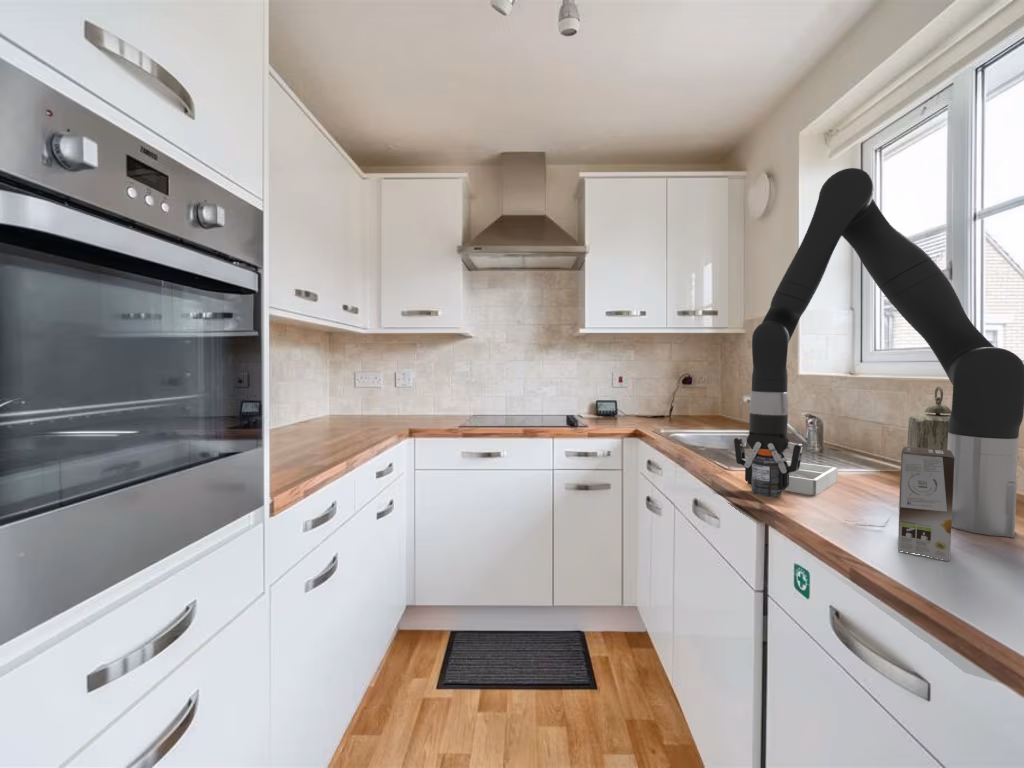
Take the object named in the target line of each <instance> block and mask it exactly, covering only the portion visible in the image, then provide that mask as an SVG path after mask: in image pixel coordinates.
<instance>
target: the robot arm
mask: <svg viewBox="0 0 1024 768" xmlns="http://www.w3.org/2000/svg"><path fill="white" fill-rule="evenodd" d="M874 189H875V187H874V182H873V179H872V177H871V175H870V174H869V173H868V172H867V171H865V170H864V169H861V168H856V167H851V168H849V167H848V168H844V169H841V170H839V171H837V172H834V174H832V175H831V176H830V177H828V178H827V179H826V181H825V182H824V183H823V185H822V186H821V188H820V191H819V192H818V199H817V202H816V204H815V205H816V206H815V208H814V212H813V215H812V218H811V220H810V223H809V225H808V228H807V230H806V231H805V232H806V233H805V235H804V237H803V239H802V242H800V245H799V247H798V249H797V251H796V253H795V254H794V257H793V258H792V260H791V263H790V264H789V266H788V268H787V269H786V271H785V273H784V275H783V276H782V279H781V281H780V283H779V284H778V286H777V288H776V290H775V292H774V294H773V296H772V299H771V301H770V306H769V309H768V311H767V313H766V315H764V318H763V320H762V322H761V323H760V324H759V325H757V326H756V327H755V329H754V330H753V332H752V337H751V355H752V367H753V368H752V374H751V375H752V376H751V392H750V393H751V394H750V399H749V400H750V401H749V406H748V407H749V408H748V410H749V421H748V422H749V423H748V430H749V431H748V435H747V437H741V436H740V437H739V436H737V437H735V438H734V439H733V443H734V452H735V453H734V454H735V461H736V463H737V464H738V465H741V466H743V467H744V468H745V471H744V480H745V482H747V485H751V486H752V460H753V459H754V458H755V457H756V456H757V455H758V454H757V453H758V451H759V449H769V450H770V451H771V453H772V455H773V458H774V460H775V462H776V463H777V464H778V466H779V469H780V471H781V473H780V481H779V489H780V490H781V491H785V489H786V488H787V487H788V486H789V473H790V472H795V471H797V470H799V467H800V463H802V462H801V461H802V457H803V452H804V444H802V443H794V442H790V440H789V439H788V423H789V421H788V417H789V416H788V415H789V400H788V381H789V380H788V369H787V362H788V361H787V360H788V351H789V349H788V348H789V343H790V341H791V339H792V337H793V335H794V332H795V330H796V328H797V325H798V324H799V322H800V319H801V317H802V315H803V314H804V312H805V311H806V309H807V308H808V307H809V304H810V302H811V300H812V299H813V297H814V295H815V293H816V291H817V289H818V288H819V285H821V284H820V283H821V282H822V279H823V277H824V275H825V273H826V270H827V267H828V265H829V262H830V260H831V258H832V256H833V254H834V250H836V247H837V245H838V244H839V241H840V239H841V237H842V238H843V239H845V241H846V242H847V243H848V244H849V245H850V246H851V248H853V250H854V251H855V253H856V254H857V256H858V258H859V260H860V261H861V263H862V264H863V266H864V267H865V269H866V270H867V272H868V274H869V275H870V277H871V278H872V280H873V281H874V283H875V284H876V286H877V287H878V288H879V290H880V291H881V292H882V293H883V295H884V296H885V298H886V299H887V300H888V302H889V303H890V304H891V305H892V306H893V307H894V309H895V310H897V312H898V313H899V314H900V315H901V317H903V318H904V319H905V321H906V322H907V323H908V324H909V325H910V326H911V327H912V328H913V329H914V331H916V332H917V333H918V334H919V335H920V336H921V338H923V340H924V341H925V342H926V343H927V344H928V346H929V347H930V349H931V351H932V352H933V354H934V356H935V357H936V358H937V359H936V360H937V361H938V362H939V364H940V365H941V367H942V369H943V371H944V372H945V374H946V376H947V377H948V379H949V381H950V383H951V385H952V399H951V400H952V401H951V409H950V410H951V414H949V415H950V418H949V424H948V447H947V448H948V449H947V450H950V451H951V452H952V454H953V456H954V458H955V460H954V482H953V506H952V524H951V528H954V529H958V530H961V531H962V530H963V531H966V532H970V533H974V534H979V535H987V536H995V537H996V536H998V537H1008V538H1015V533H1016V531H1015V529H1016V514H1017V513H1016V510H1017V507H1016V506H1017V493H1018V492H1017V490H1018V484H1017V478H1018V476H1017V473H1018V453H1019V452H1018V451H1019V437H1020V436H1019V435H1020V428H1021V425H1022V423H1023V420H1024V362H1023V361H1022V358H1020V357H1019V355H1017V354H1015V353H1014V352H1012V351H1010V350H1008V349H1005V348H1002V347H996V346H994V345H993V344H992V343H991V342H990V341H989V340H988V339H987V338H986V337H985V336H984V335H983V334H982V333H981V332H980V330H979V329H978V328H976V326H975V325H974V324H973V323H972V322H971V321H972V320H970V319H969V317H968V315H967V314H966V312H965V309H964V308H963V307H964V306H963V305H962V303H961V300H960V298H959V297H958V294H957V293H956V290H955V289H954V287H953V284H952V283H951V282H950V280H949V278H948V277H947V276H946V274H945V273H944V272H943V270H942V269H941V268H940V267H939V265H938V264H937V263H936V262H935V260H933V259H932V257H931V256H930V255H929V254H928V253H927V251H925V250H924V249H923V248H922V247H920V246H919V245H918V244H917V243H915V242H914V241H913V240H911V239H910V238H909V237H907V236H905V235H904V234H902V233H901V232H900V231H898V230H897V229H896V228H895V227H894V226H893V225H892V224H891V223H890V222H889V221H888V219H887V218H886V217H885V215H884V214H883V212H882V211H881V209H880V208H879V206H878V205H877V203H876V201H875V199H874V198H873V195H874ZM747 444H748V446H749V447H750V448H751V451H750V452H749V454H748V457H747V459H746V452H745V447H747ZM788 448H789V452H790V453H792V454H791V455H792V456H791V465H790V466H789V465H788V463H787V461H788V460H787V458H786V455H785V453H784V452H785V450H786V449H788Z"/></svg>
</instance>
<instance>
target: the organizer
mask: <svg viewBox="0 0 1024 768" xmlns="http://www.w3.org/2000/svg"><path fill="white" fill-rule="evenodd" d="M786 461H787V463H788V465H789V466H790V465H791V461H790V460H786ZM838 470H839V468H838V467H837V466H829V465H823V464H822V465H821V464H814V463H805V462H800V467H799V470H797V471H795V472H790V473H789V474H797V475H801V476H804V477H806V478H800V477H794V476H789V486H788V487H787V488H786V489H785V490H784V491H785V492H792V493H797V494H803V495H809V496H810V495H811V496H818V495H819V494H820V493H822V492H823V491H825V490H826V489H828V488H829V487H830V486H832V485H833V484H835V483H836V482H838Z"/></svg>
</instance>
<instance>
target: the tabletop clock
mask: <svg viewBox="0 0 1024 768" xmlns="http://www.w3.org/2000/svg"><path fill="white" fill-rule="evenodd" d="M938 392H939V393H940V396H939V397H938ZM943 398H944V390H943V388H942V386H936V387H935V389H934V401H935V403H934V404H930V405H928V406H927V407H926V409H925V410H924V413H918V414H915V415H913V416H909V418H908V427H907V428H908V430H907V447H915V448H931V449H942V450H947V449H948V448H947V447H948V424H949V418H950V415H951V410H952V409H950V407H948V406H947V405H945V404H942V402H943Z"/></svg>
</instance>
